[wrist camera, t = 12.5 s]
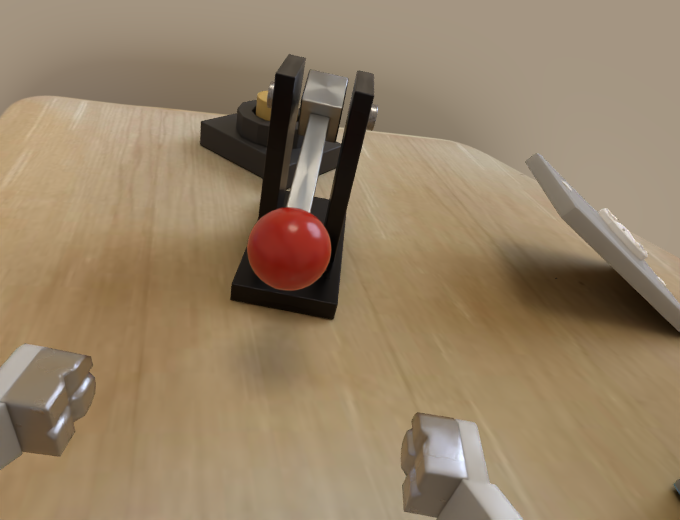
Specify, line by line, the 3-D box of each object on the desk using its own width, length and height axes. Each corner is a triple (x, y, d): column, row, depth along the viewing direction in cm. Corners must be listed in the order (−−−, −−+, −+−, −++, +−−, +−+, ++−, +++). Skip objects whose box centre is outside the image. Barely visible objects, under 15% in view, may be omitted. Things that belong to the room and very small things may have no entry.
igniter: (199, 144, 42) (201, 100, 40) (260, 128, 48) (264, 89, 45) (285, 190, 38) (292, 144, 36) (339, 166, 44) (348, 126, 42)
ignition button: (246, 113, 40) (248, 93, 39) (274, 107, 43) (276, 88, 42) (278, 129, 39) (281, 108, 38) (304, 121, 42) (307, 102, 41)
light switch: (714, 324, 32) (590, 195, 27) (633, 366, 35) (507, 257, 30) (654, 253, 39) (546, 141, 34) (590, 294, 42) (482, 195, 37)
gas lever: (318, 312, 21) (331, 268, 18) (238, 297, 20) (237, 249, 17) (351, 123, 28) (363, 70, 25) (292, 110, 28) (298, 55, 25)
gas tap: (333, 319, 27) (385, 123, 20) (230, 300, 26) (248, 92, 20) (344, 216, 37) (381, 60, 30) (268, 200, 36) (289, 39, 30)
